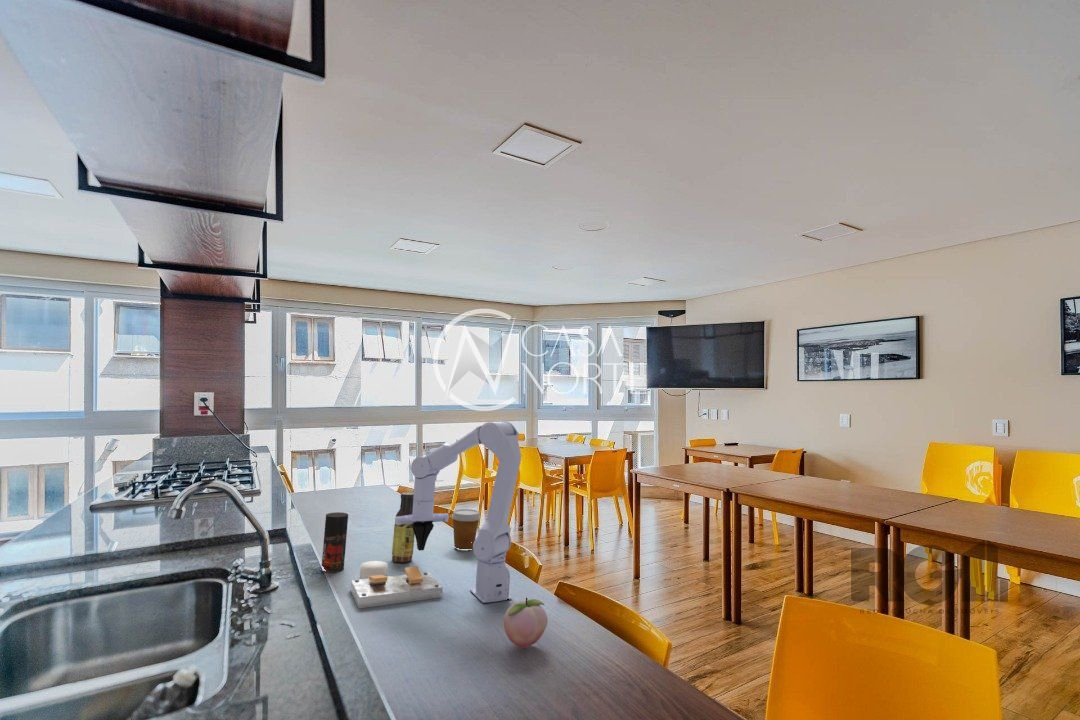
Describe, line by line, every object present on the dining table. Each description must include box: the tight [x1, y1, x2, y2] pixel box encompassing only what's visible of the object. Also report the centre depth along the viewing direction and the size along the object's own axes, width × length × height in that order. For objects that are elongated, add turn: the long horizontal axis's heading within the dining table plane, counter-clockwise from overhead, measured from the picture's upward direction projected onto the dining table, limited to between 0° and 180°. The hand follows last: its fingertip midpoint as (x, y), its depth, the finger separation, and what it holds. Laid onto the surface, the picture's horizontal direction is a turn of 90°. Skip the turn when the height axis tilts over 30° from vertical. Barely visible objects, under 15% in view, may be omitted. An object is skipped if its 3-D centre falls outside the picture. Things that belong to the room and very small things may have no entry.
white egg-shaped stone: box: [358, 560, 388, 580], centre depth 140 cm, size 7×7×4 cm
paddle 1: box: [369, 575, 387, 583], centre depth 130 cm, size 6×3×1 cm, turn 30°
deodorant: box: [321, 511, 349, 574], centre depth 147 cm, size 6×6×15 cm
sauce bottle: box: [391, 492, 416, 564], centre depth 158 cm, size 6×6×20 cm
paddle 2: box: [404, 565, 423, 584], centre depth 134 cm, size 6×3×1 cm, turn 28°
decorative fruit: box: [503, 597, 548, 649], centre depth 107 cm, size 9×8×10 cm
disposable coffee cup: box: [451, 508, 481, 549], centre depth 174 cm, size 10×10×12 cm
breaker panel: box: [350, 571, 443, 609], centre depth 131 cm, size 12×20×3 cm, turn 119°
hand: (420, 549), depth 145 cm, fingers closed
